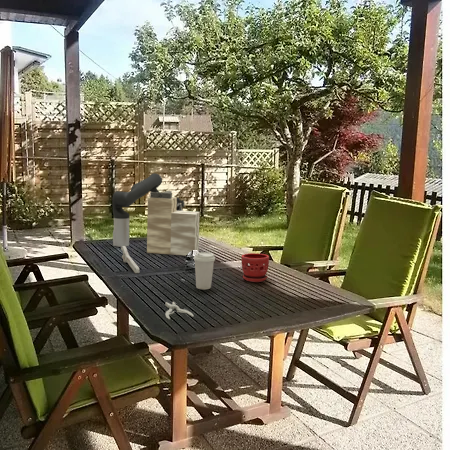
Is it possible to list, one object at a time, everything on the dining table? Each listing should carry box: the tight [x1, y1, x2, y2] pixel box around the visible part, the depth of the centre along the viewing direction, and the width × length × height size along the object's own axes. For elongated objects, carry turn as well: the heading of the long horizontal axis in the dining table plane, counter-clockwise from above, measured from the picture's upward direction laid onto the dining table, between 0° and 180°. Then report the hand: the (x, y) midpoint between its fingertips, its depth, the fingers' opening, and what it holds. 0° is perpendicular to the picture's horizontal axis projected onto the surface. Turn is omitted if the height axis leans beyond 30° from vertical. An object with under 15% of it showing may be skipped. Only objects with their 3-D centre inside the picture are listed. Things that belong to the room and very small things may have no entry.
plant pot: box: [240, 252, 270, 283], centre depth 222 cm, size 13×13×12 cm
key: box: [149, 190, 173, 199], centre depth 276 cm, size 20×12×3 cm, turn 172°
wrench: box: [120, 246, 140, 274], centre depth 238 cm, size 8×2×30 cm
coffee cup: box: [193, 252, 216, 290], centre depth 206 cm, size 10×10×15 cm
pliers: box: [165, 301, 194, 320], centre depth 176 cm, size 10×2×15 cm
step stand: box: [146, 196, 201, 256], centre depth 272 cm, size 12×28×32 cm, turn 82°
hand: (170, 198), depth 289 cm, fingers open, 8 cm apart
